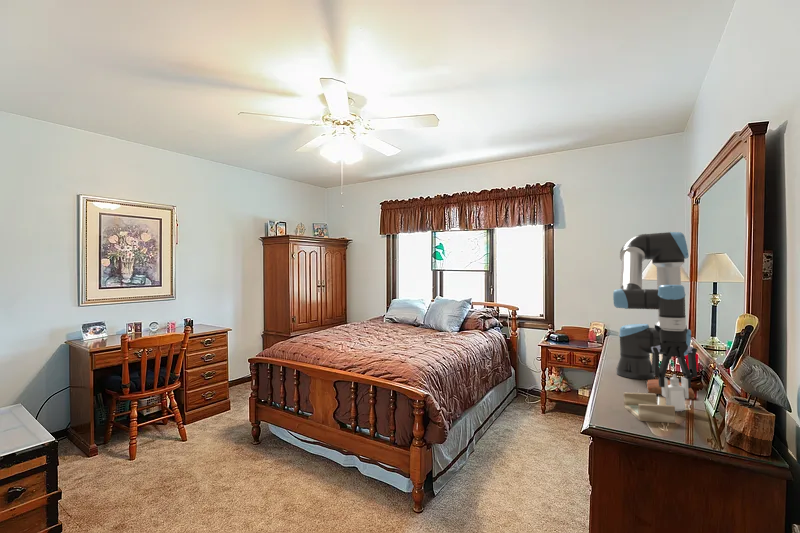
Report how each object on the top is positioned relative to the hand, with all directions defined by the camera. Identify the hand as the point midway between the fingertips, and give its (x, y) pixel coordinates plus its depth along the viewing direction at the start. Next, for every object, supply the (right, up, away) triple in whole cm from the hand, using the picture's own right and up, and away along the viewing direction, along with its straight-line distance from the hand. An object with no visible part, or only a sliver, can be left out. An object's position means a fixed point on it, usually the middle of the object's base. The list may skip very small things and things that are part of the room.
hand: (675, 396), depth 130 cm
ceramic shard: (+11, -5, +19) cm, 23 cm away
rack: (-12, -5, -4) cm, 13 cm away
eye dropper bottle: (0, -5, 0) cm, 5 cm away
